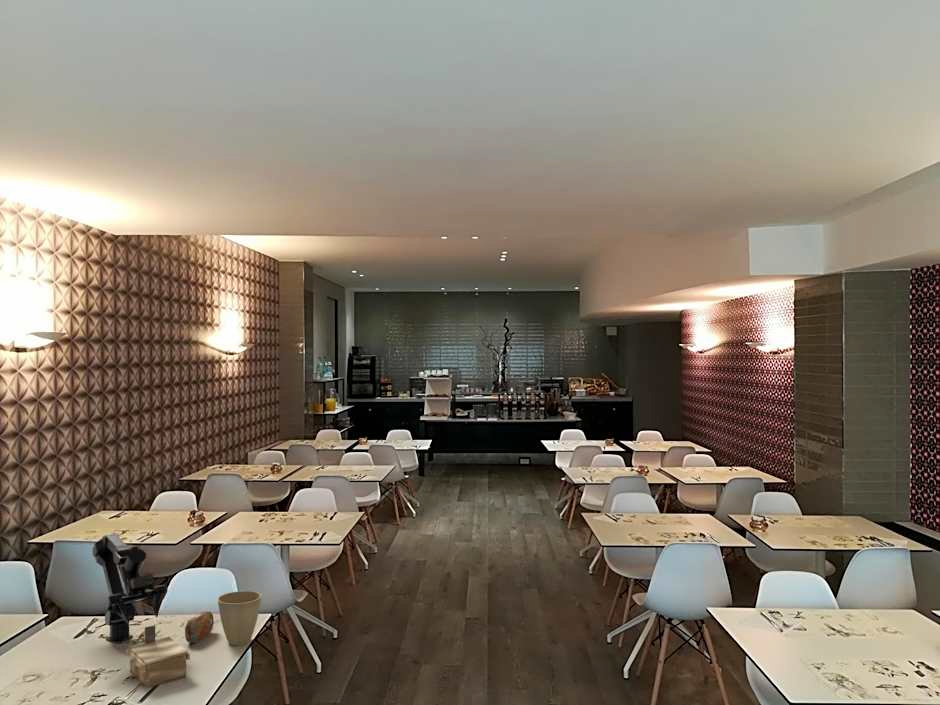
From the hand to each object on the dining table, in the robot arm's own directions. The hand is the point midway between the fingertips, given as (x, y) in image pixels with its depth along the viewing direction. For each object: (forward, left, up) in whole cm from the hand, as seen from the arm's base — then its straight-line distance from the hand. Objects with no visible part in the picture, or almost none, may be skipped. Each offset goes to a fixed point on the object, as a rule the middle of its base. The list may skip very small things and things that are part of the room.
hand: (142, 619), depth 247 cm
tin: (+1, +23, -14) cm, 27 cm away
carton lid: (+14, -5, -8) cm, 17 cm away
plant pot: (+16, +27, -14) cm, 35 cm away
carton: (+14, -5, -13) cm, 20 cm away
